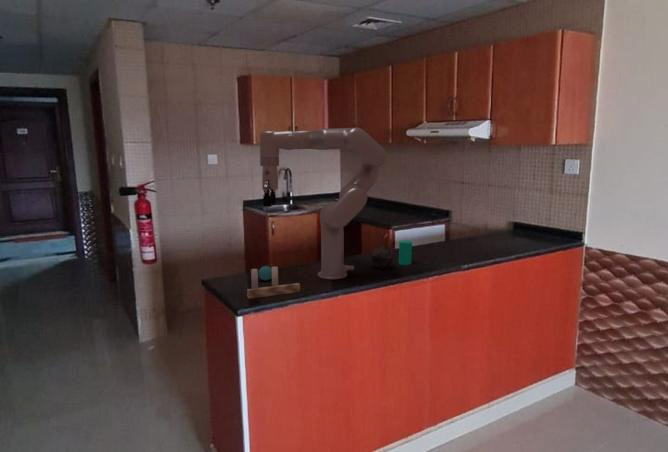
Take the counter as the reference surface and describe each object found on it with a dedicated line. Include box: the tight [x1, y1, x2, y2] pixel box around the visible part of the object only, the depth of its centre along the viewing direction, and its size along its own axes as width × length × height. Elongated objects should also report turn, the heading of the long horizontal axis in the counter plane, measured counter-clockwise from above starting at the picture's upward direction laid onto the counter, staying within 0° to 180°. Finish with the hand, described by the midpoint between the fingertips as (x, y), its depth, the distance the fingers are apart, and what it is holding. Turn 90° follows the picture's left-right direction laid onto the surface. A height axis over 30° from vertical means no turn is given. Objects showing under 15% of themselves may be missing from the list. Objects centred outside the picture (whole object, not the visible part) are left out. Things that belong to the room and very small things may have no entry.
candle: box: [398, 238, 413, 266], centre depth 220 cm, size 6×6×12 cm
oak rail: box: [246, 282, 301, 299], centre depth 175 cm, size 20×2×3 cm, turn 113°
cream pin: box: [271, 266, 279, 286], centre depth 180 cm, size 2×2×9 cm
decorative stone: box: [371, 245, 394, 269], centre depth 212 cm, size 10×10×10 cm
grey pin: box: [250, 268, 259, 289], centre depth 177 cm, size 2×2×9 cm
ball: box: [258, 265, 272, 281], centre depth 193 cm, size 6×6×6 cm
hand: (269, 204), depth 188 cm, fingers open, 9 cm apart
